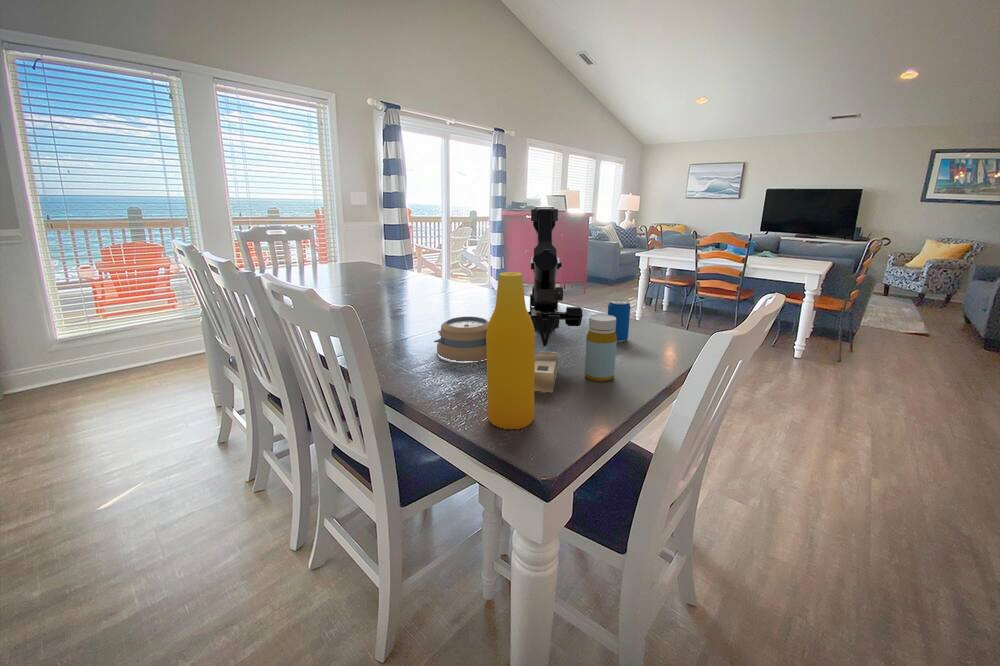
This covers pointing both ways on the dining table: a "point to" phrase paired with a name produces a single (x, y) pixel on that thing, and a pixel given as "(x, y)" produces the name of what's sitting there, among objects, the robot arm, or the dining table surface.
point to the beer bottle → (510, 356)
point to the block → (545, 371)
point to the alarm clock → (463, 339)
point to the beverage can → (620, 317)
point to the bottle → (601, 348)
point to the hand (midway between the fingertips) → (544, 345)
